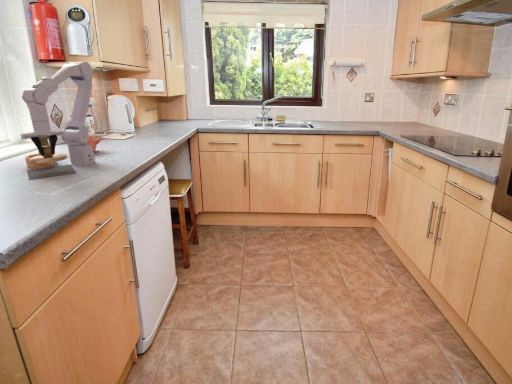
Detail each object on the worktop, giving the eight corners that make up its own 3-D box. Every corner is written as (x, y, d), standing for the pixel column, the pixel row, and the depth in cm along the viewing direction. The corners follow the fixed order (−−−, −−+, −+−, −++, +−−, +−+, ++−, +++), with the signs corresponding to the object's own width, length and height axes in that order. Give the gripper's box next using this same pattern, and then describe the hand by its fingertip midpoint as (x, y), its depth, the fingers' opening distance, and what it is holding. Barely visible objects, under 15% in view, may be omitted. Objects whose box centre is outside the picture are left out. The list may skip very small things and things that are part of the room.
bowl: (63, 163, 147) (61, 153, 145) (42, 169, 137) (40, 159, 135) (43, 162, 150) (40, 152, 148) (21, 168, 139) (18, 157, 138)
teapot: (91, 148, 178) (88, 129, 174) (105, 151, 172) (102, 131, 169) (66, 153, 166) (62, 133, 163) (79, 156, 161) (76, 135, 157)
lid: (74, 156, 136) (72, 144, 134) (48, 164, 124) (46, 150, 122) (48, 154, 138) (46, 142, 137) (21, 161, 127) (18, 148, 125)
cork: (50, 153, 166) (45, 131, 163) (55, 155, 163) (50, 133, 159) (36, 155, 162) (31, 133, 158) (41, 157, 158) (36, 134, 155)
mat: (70, 165, 144) (70, 164, 144) (76, 174, 131) (76, 173, 131) (27, 171, 135) (26, 170, 135) (29, 181, 122) (29, 180, 122)
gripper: (58, 118, 133) (65, 150, 138) (16, 121, 124) (24, 156, 129) (63, 119, 128) (70, 153, 133) (19, 123, 119) (28, 159, 124)
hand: (47, 155), depth 131 cm, fingers closed on lid, 3 cm apart
